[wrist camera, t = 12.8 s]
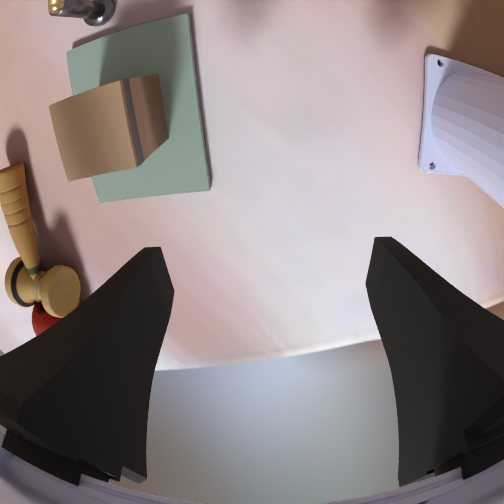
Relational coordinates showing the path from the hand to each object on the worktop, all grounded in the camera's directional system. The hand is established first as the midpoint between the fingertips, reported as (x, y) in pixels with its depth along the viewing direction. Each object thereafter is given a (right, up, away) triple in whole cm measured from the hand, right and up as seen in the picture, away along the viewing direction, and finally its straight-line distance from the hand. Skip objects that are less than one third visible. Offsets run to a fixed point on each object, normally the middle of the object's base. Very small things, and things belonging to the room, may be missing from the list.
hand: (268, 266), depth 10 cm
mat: (-8, +9, +6) cm, 13 cm away
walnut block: (-8, +9, +5) cm, 12 cm away
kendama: (-19, +1, +12) cm, 23 cm away
